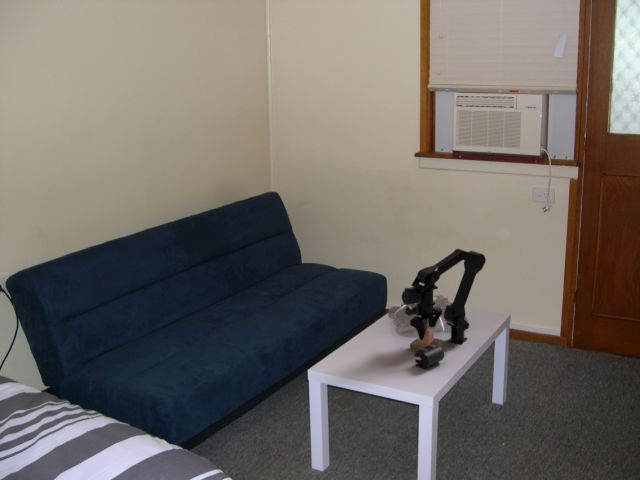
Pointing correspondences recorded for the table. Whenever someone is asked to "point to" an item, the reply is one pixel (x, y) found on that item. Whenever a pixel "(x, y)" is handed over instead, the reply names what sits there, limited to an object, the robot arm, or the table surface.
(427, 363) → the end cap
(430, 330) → the terracotta block
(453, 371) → the table surface
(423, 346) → the tan block
